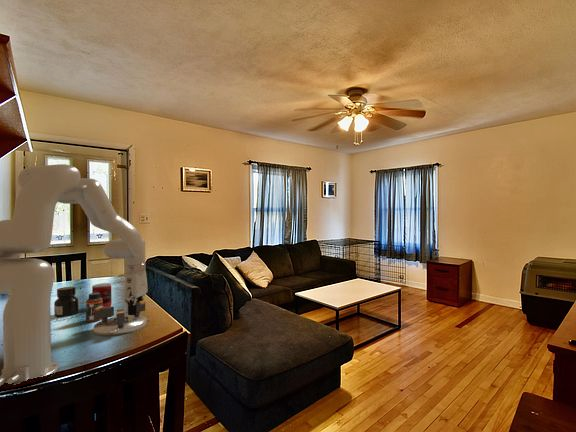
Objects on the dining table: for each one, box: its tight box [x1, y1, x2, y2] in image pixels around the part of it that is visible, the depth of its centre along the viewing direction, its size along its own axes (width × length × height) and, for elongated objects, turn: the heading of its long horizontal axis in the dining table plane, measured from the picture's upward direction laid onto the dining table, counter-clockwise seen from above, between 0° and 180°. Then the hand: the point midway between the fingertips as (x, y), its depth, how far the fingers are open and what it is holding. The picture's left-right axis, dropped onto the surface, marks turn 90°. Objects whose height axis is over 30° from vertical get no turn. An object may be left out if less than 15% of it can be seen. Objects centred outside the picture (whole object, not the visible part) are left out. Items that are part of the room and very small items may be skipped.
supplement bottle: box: [85, 292, 103, 323], centre depth 124 cm, size 6×6×11 cm
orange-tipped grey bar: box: [95, 306, 115, 323], centre depth 115 cm, size 6×2×6 cm, turn 89°
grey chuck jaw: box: [116, 308, 125, 327], centre depth 109 cm, size 6×2×6 cm, turn 29°
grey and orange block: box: [134, 300, 146, 317], centre depth 120 cm, size 6×2×6 cm, turn 125°
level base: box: [93, 314, 147, 337], centre depth 114 cm, size 18×18×4 cm
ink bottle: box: [53, 286, 80, 318], centre depth 133 cm, size 10×9×12 cm
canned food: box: [91, 282, 113, 307], centre depth 144 cm, size 8×8×11 cm
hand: (136, 312), depth 120 cm, fingers closed on grey and orange block, 5 cm apart
